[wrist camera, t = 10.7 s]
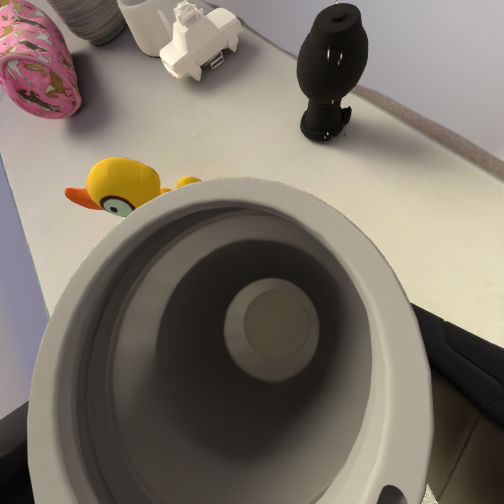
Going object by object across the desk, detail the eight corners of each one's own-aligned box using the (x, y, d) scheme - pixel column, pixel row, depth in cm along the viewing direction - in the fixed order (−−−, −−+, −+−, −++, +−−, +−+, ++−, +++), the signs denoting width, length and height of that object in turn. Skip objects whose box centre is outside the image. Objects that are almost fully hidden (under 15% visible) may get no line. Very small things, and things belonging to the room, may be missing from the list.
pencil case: (37, 69, 42) (-27, 9, 34) (75, 45, 42) (20, -22, 34) (51, 135, 35) (-25, 80, 27) (97, 106, 35) (34, 41, 26)
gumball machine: (352, 148, 23) (391, 34, 14) (297, 155, 24) (299, 55, 15) (345, 102, 25) (375, -25, 16) (294, 111, 26) (294, -3, 17)
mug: (134, 42, 38) (105, -5, 32) (177, 12, 38) (156, -41, 32) (158, 74, 34) (130, 26, 28) (207, 40, 34) (189, -15, 28)
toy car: (248, 47, 31) (236, -22, 25) (186, 95, 31) (157, 39, 25) (227, 32, 33) (210, -35, 27) (168, 77, 33) (137, 21, 27)
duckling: (136, 251, 25) (40, 214, 16) (138, 212, 27) (52, 157, 17) (225, 235, 23) (177, 182, 14) (222, 193, 25) (177, 121, 15)
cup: (287, 407, 13) (215, 1131, 1) (209, 336, 15) (-61, 397, 4) (349, 309, 14) (604, 281, 2) (266, 256, 16) (191, 107, 4)
